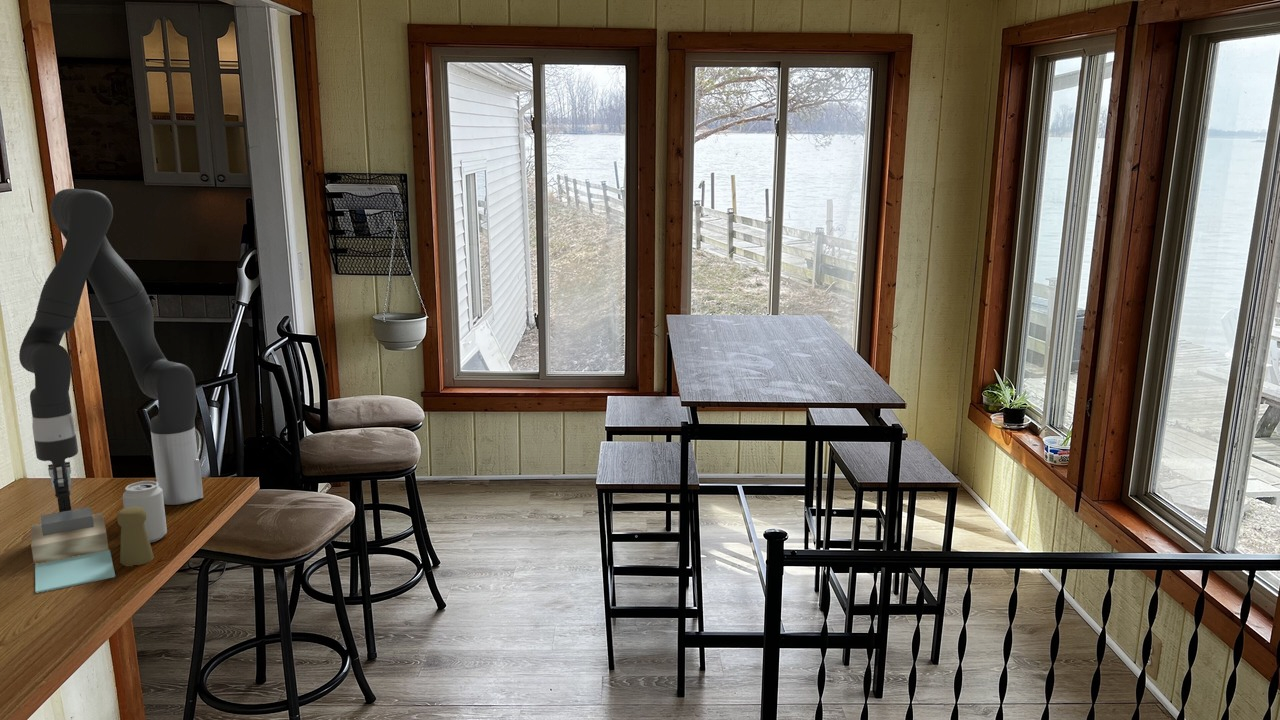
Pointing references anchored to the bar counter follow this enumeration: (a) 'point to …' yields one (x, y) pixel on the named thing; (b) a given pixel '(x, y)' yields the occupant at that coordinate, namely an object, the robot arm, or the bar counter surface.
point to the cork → (134, 537)
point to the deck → (69, 541)
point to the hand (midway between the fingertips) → (65, 512)
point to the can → (148, 506)
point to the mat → (73, 571)
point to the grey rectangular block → (66, 521)
